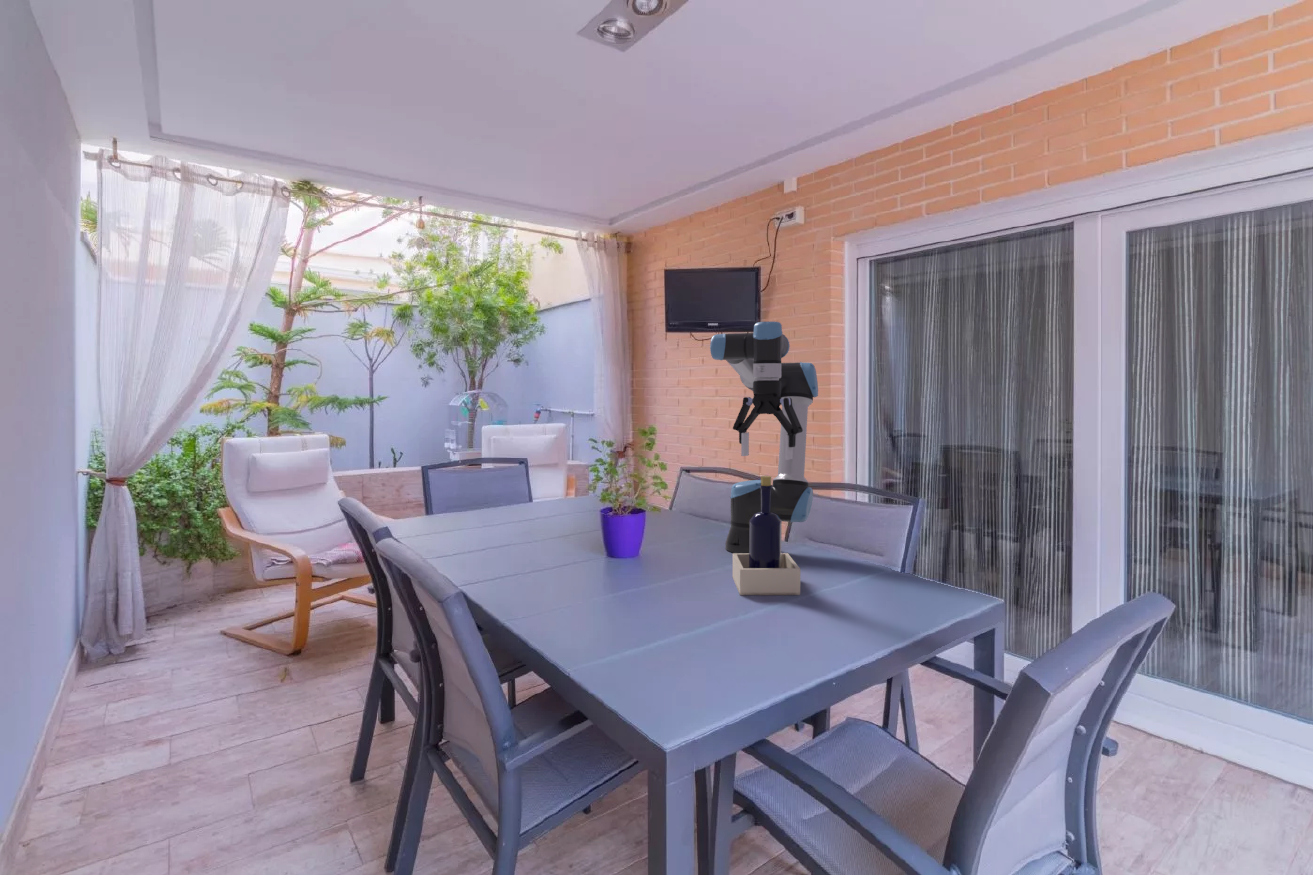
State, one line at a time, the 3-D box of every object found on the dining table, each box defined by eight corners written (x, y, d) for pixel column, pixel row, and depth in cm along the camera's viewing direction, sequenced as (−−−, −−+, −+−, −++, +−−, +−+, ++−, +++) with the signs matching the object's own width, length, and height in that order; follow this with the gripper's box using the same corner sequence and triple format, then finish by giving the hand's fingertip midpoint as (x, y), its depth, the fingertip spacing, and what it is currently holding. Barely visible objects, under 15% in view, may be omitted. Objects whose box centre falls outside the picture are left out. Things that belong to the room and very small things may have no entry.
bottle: (761, 576, 182) (762, 473, 180) (788, 583, 175) (789, 476, 173) (741, 583, 176) (742, 476, 173) (768, 591, 169) (769, 480, 167)
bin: (732, 576, 184) (732, 553, 183) (787, 576, 184) (787, 553, 183) (739, 595, 168) (740, 569, 167) (800, 595, 168) (800, 569, 167)
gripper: (721, 379, 176) (720, 455, 178) (802, 379, 160) (801, 462, 162) (735, 379, 182) (735, 453, 184) (816, 379, 166) (814, 459, 168)
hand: (766, 457), depth 173 cm, fingers open, 13 cm apart
